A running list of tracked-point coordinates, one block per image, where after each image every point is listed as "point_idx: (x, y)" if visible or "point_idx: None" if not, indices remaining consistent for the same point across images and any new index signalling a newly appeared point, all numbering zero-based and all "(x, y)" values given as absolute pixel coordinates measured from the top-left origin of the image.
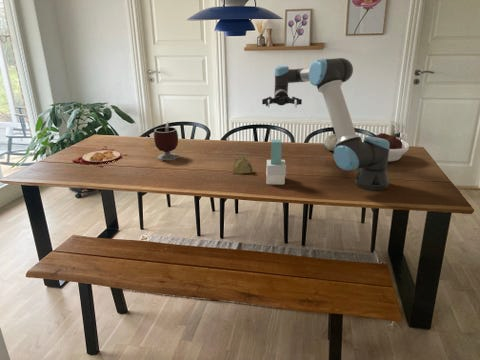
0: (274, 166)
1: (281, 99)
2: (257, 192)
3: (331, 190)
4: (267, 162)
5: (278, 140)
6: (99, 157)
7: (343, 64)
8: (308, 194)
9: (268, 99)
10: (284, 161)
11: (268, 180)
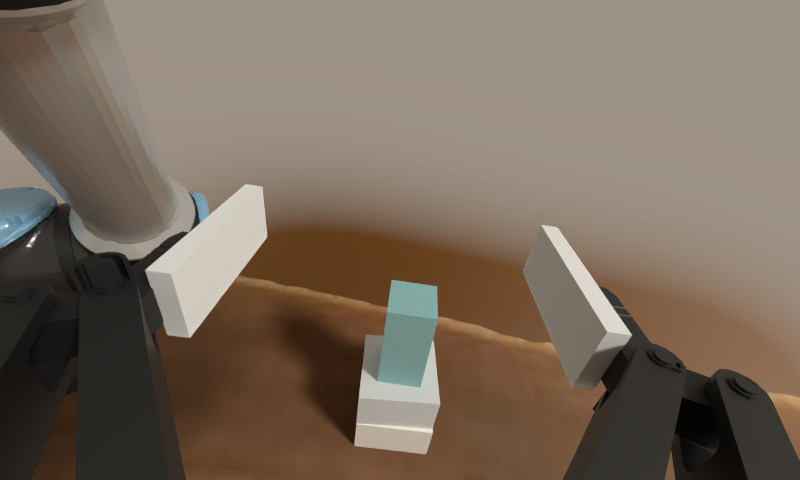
0: None
1: None
2: (446, 337)
3: (237, 329)
4: (434, 371)
5: (403, 303)
6: None
7: None
8: (314, 315)
9: (644, 371)
10: (363, 375)
11: None
